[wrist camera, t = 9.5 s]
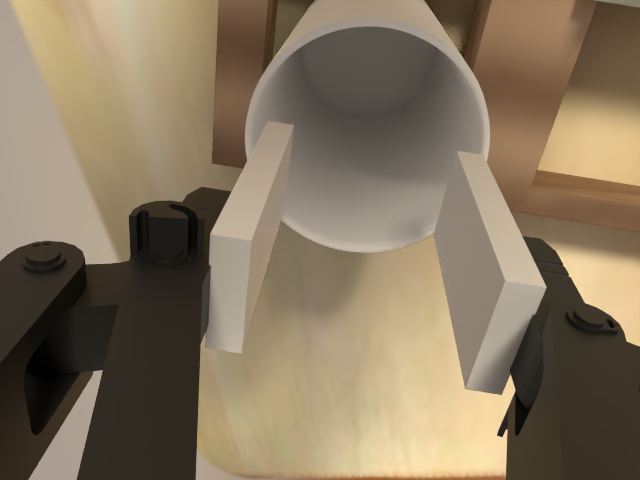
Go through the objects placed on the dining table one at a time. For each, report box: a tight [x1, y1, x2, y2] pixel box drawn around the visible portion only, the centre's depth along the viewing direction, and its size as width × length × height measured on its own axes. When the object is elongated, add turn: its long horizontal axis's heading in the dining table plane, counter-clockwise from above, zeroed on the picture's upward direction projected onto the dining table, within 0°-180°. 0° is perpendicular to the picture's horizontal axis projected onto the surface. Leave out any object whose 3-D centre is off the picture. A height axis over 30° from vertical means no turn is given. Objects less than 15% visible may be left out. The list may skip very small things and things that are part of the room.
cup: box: [245, 0, 490, 253], centre depth 26 cm, size 8×8×16 cm
